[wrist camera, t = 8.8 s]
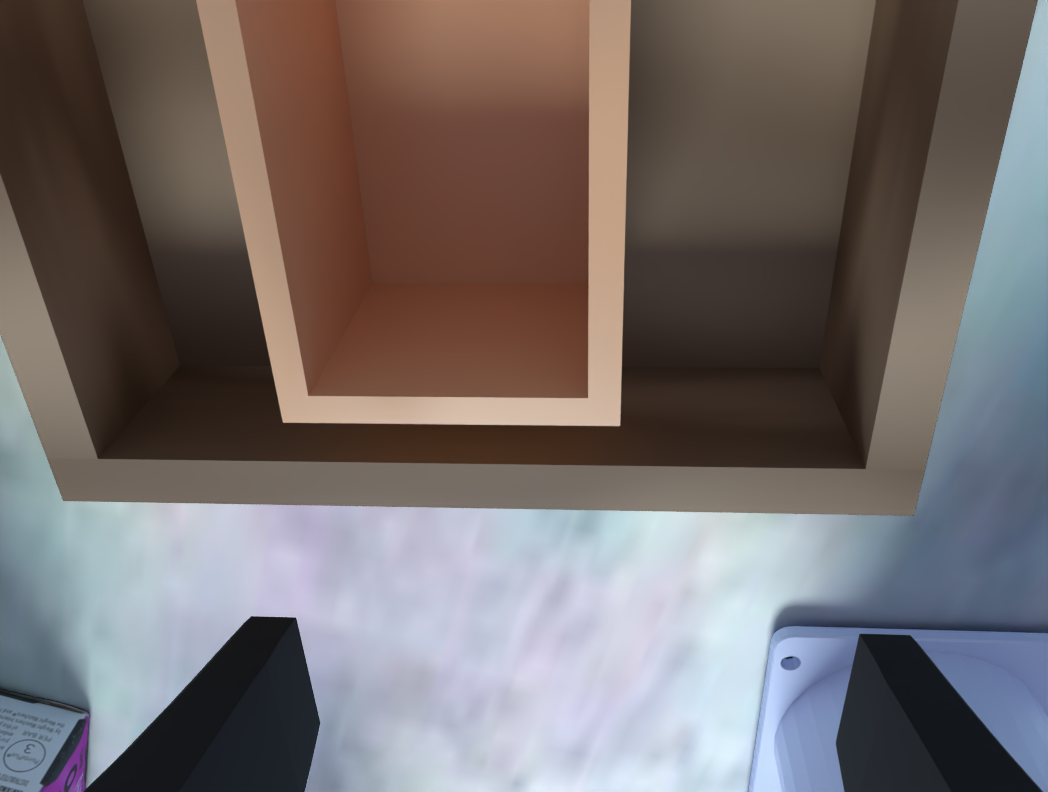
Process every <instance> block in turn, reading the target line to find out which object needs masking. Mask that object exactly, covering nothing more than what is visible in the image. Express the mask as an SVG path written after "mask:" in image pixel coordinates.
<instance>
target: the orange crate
mask: <svg viewBox="0 0 1048 792" xmlns="http://www.w3.org/2000/svg"><path fill="white" fill-rule="evenodd" d="M196 2H197V7H198V12H199V17H200V22H201V26H202V31H203V36H204V41H205V46H206V51H207V56H208V61H209V65H210V70H211V75H212V80H213V85H214V90H215V95H216V99H217V104H218V109H219V114H220V119H221V124H222V129H223V133H224V138H225V143H226V148H227V153H228V158H229V163H230V168H231V172H232V177H233V182H234V187H235V192H236V197H237V202H238V206H239V211H240V216H241V221H242V226H243V231H244V236H245V240H246V245H247V250H248V255H249V260H250V265H251V270H252V275H253V279H254V284H255V289H256V294H257V299H258V304H259V309H260V313H261V318H262V323H263V328H264V333H265V338H266V343H267V348H268V352H269V357H270V362H271V367H272V372H273V377H274V382H275V386H276V391H277V396H278V401H279V406H280V411H281V416H282V420H283V423H368V424H464V425H560V426H620V415H621V376H622V336H623V297H624V258H625V218H626V179H627V140H628V100H629V61H630V22H631V0H196Z"/></svg>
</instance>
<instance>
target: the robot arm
mask: <svg viewBox="0 0 1048 792" xmlns="http://www.w3.org/2000/svg"><path fill="white" fill-rule="evenodd" d="M789 656H794V657H793V658H790V659H784V658H786V657H789ZM319 726H320V720H319V716H318V712H317V707H316V703H315V699H314V694H313V690H312V685H311V681H310V677H309V672H308V668H307V664H306V659H305V655H304V650H303V646H302V642H301V637H300V633H299V628H298V624H297V620H296V618H289V617H254V616H251V617H250V618H249V619H248V620H247V621H246V622H245V623H244V624H243V625H242V626H241V627H240V628H239V629H238V630H237V631H236V632H235V634H234V635H233V636H232V637H231V638H230V639H229V640H228V641H227V642H226V643H225V644H224V646H223V647H222V648H221V649H220V650H219V651H218V652H217V653H216V654H215V656H214V657H213V658H212V659H211V660H210V661H209V662H208V663H207V664H206V665H205V667H204V668H203V669H202V670H201V671H200V672H199V673H198V674H197V675H196V676H195V677H194V679H193V680H192V681H191V682H190V683H189V684H188V685H187V686H186V687H185V688H184V689H183V690H182V692H181V693H180V694H179V695H178V696H177V697H176V698H175V699H174V700H173V701H172V702H171V703H170V705H169V706H168V707H167V708H166V709H165V710H164V711H163V712H162V713H161V714H160V715H159V716H158V717H157V718H156V719H155V720H154V721H153V722H152V723H151V724H150V725H149V726H148V727H147V729H146V730H145V731H144V732H143V733H142V734H141V735H140V736H139V737H138V738H137V739H136V740H135V741H134V742H133V743H132V744H131V745H130V746H129V747H128V748H127V749H126V750H125V751H124V752H123V753H122V754H121V755H120V756H119V757H118V758H117V759H116V760H115V761H114V762H113V763H112V764H111V765H110V766H109V767H108V768H107V769H106V770H105V771H104V772H103V773H102V774H101V775H100V776H99V777H98V778H97V779H96V780H95V781H94V782H93V783H92V784H91V785H90V786H89V787H88V788H86V789H85V790H84V791H83V792H304V791H305V787H306V783H307V779H308V775H309V771H310V767H311V762H312V758H313V753H314V749H315V744H316V740H317V735H318V731H319ZM748 792H1048V633H1022V632H986V631H950V630H914V629H878V628H842V627H806V626H789V627H784V628H781V629H779V630H778V631H776V632H775V633H774V634H773V636H772V639H771V644H770V651H769V658H768V664H767V671H766V678H765V684H764V691H763V698H762V704H761V711H760V718H759V724H758V731H757V738H756V745H755V751H754V758H753V765H752V771H751V778H750V785H749V791H748Z"/></svg>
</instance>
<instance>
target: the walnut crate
mask: <svg viewBox="0 0 1048 792" xmlns="http://www.w3.org/2000/svg"><path fill="white" fill-rule="evenodd" d="M1037 1H1038V0H631V22H630V61H629V100H628V140H627V179H626V218H625V258H624V297H623V336H622V376H621V415H620V426H560V425H464V424H368V423H283V420H282V416H281V411H280V406H279V401H278V396H277V391H276V386H275V382H274V377H273V372H272V367H271V362H270V357H269V352H268V348H267V343H266V338H265V333H264V328H263V323H262V318H261V313H260V309H259V304H258V299H257V294H256V289H255V284H254V279H253V275H252V270H251V265H250V260H249V255H248V250H247V245H246V240H245V236H244V231H243V226H242V221H241V216H240V211H239V206H238V202H237V197H236V192H235V187H234V182H233V177H232V172H231V168H230V163H229V158H228V153H227V148H226V143H225V138H224V133H223V129H222V124H221V119H220V114H219V109H218V104H217V99H216V95H215V90H214V85H213V80H212V75H211V70H210V65H209V61H208V56H207V51H206V46H205V41H204V36H203V31H202V26H201V22H200V17H199V12H198V7H197V2H196V0H0V335H1V337H2V340H3V343H4V345H5V348H6V350H7V353H8V356H9V358H10V361H11V364H12V366H13V369H14V372H15V374H16V377H17V380H18V382H19V385H20V388H21V390H22V393H23V396H24V398H25V401H26V403H27V406H28V409H29V411H30V414H31V417H32V419H33V422H34V425H35V427H36V430H37V433H38V435H39V438H40V441H41V443H42V446H43V448H44V451H45V454H46V456H47V459H48V462H49V464H50V467H51V470H52V472H53V475H54V478H55V480H56V483H57V486H58V488H59V491H60V494H61V496H62V499H63V501H100V502H157V503H215V504H273V505H330V506H388V507H446V508H503V509H561V510H619V511H676V512H734V513H792V514H849V515H907V516H914V513H915V509H916V505H917V501H918V497H919V492H920V488H921V484H922V480H923V476H924V472H925V468H926V463H927V459H928V455H929V451H930V447H931V443H932V438H933V434H934V430H935V426H936V422H937V418H938V413H939V409H940V405H941V401H942V397H943V393H944V388H945V384H946V380H947V376H948V372H949V368H950V363H951V359H952V355H953V351H954V347H955V343H956V339H957V334H958V330H959V326H960V322H961V318H962V314H963V309H964V305H965V301H966V297H967V293H968V289H969V284H970V280H971V276H972V272H973V268H974V264H975V259H976V255H977V251H978V247H979V243H980V239H981V234H982V230H983V226H984V222H985V218H986V214H987V210H988V205H989V201H990V197H991V193H992V189H993V185H994V180H995V176H996V172H997V168H998V164H999V160H1000V155H1001V151H1002V147H1003V143H1004V139H1005V135H1006V130H1007V126H1008V122H1009V118H1010V114H1011V110H1012V105H1013V101H1014V97H1015V93H1016V89H1017V85H1018V80H1019V76H1020V72H1021V68H1022V64H1023V60H1024V56H1025V51H1026V47H1027V43H1028V39H1029V35H1030V31H1031V26H1032V22H1033V18H1034V14H1035V10H1036V6H1037Z"/></svg>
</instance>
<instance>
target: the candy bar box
mask: <svg viewBox="0 0 1048 792" xmlns="http://www.w3.org/2000/svg"><path fill="white" fill-rule="evenodd" d="M88 726H89V714H88V713H87V712H85V711H82V710H80V709H77V708H75V707H71V706H68V705H65V704H62V703H59V702H55V701H52V700H46V699H41V698H34V697H30V696H27V695H23V694H18V693H13V692H9V691H4V690H0V792H83V791H84V790H85V780H86V761H87V744H88Z"/></svg>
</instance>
